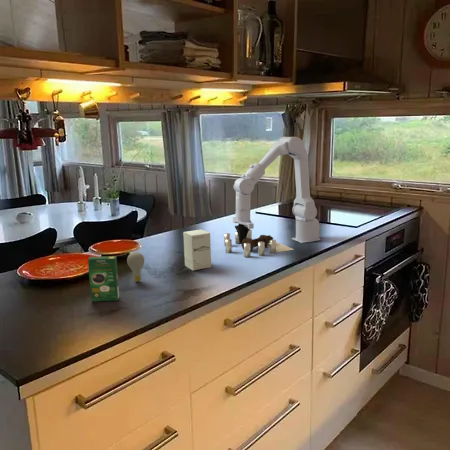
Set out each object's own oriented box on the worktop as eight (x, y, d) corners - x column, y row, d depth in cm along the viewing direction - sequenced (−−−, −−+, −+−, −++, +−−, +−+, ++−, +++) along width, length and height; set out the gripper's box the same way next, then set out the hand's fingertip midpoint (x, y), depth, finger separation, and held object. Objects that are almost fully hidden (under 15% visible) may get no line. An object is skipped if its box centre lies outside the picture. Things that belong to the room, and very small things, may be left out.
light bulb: (131, 279, 151) (128, 250, 149) (147, 278, 151) (145, 249, 149) (127, 284, 146) (124, 254, 144) (144, 284, 146) (141, 254, 144)
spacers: (250, 240, 195) (250, 229, 193) (277, 253, 175) (277, 240, 173) (214, 246, 188) (214, 234, 187) (238, 259, 168) (238, 246, 167)
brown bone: (272, 247, 188) (247, 255, 178) (264, 240, 191) (239, 247, 180) (277, 237, 185) (253, 243, 175) (269, 229, 188) (244, 235, 177)
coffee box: (120, 297, 136) (117, 254, 133) (119, 301, 133) (115, 257, 130) (93, 298, 135) (88, 256, 132) (91, 302, 132) (86, 259, 130)
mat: (268, 238, 197) (268, 238, 197) (294, 249, 179) (294, 249, 179) (254, 240, 194) (254, 240, 194) (278, 252, 176) (278, 252, 176)
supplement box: (192, 271, 157) (190, 235, 154) (184, 265, 164) (182, 231, 161) (212, 267, 160) (210, 232, 158) (203, 262, 167) (201, 228, 164)
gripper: (225, 207, 182) (225, 240, 185) (242, 213, 170) (241, 248, 172) (241, 205, 185) (241, 238, 188) (258, 211, 172) (258, 246, 175)
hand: (242, 243), depth 180 cm, fingers closed, pressing on brown bone
